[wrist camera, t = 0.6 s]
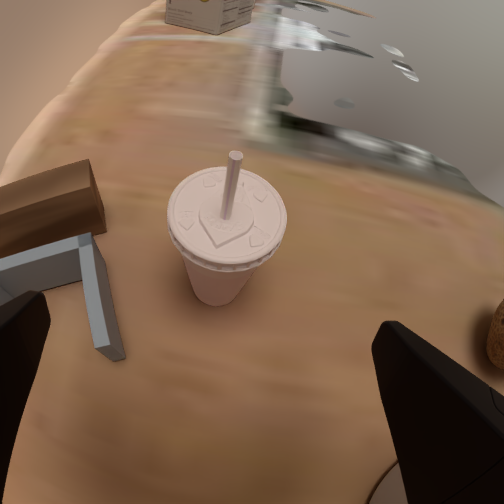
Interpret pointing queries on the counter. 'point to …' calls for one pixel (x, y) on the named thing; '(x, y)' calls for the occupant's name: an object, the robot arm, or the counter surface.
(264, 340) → the counter surface
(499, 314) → the natural sponge
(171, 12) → the supplement box
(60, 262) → the cradle
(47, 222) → the block
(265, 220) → the smoothie
